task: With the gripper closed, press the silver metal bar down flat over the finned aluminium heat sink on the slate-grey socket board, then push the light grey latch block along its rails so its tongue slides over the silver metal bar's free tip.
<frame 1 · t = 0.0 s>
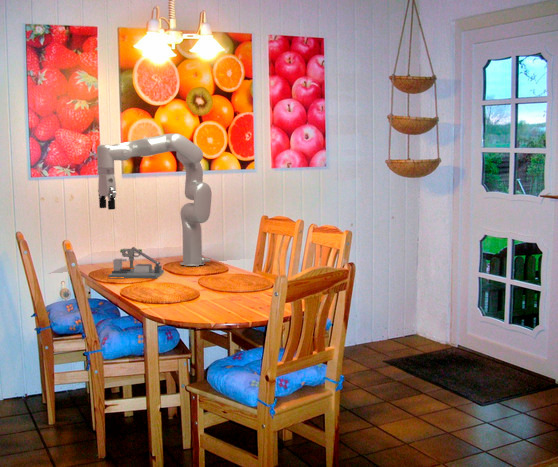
hand: (107, 208, 320), 31 cm above the table, tool pointing down, fingers open, 9 cm apart
silver metal bar: (145, 256, 321), point 9 cm above the table, hinge at 32.0°
heatsink: (143, 275, 322), resting on socket board
socket board: (136, 275, 323), on the table
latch: (120, 265, 322), point 5 cm above the table, slide at 3.0 cm
mechanical component: (131, 269, 340), on the table
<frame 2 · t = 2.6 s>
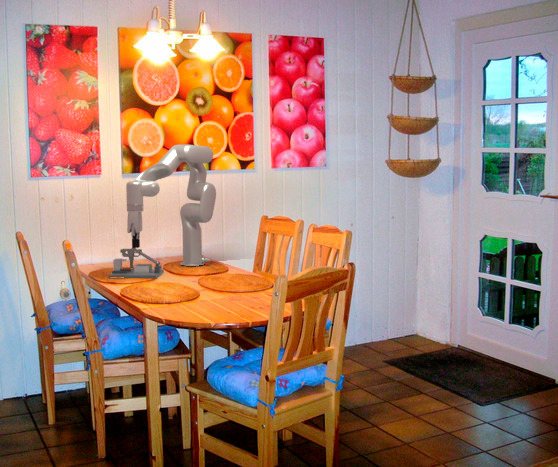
hand: (135, 247, 321), 13 cm above the table, tool pointing down, fingers closed
silver metal bar: (145, 256, 321), point 9 cm above the table, hinge at 32.0°, touching gripper
everything else where it was.
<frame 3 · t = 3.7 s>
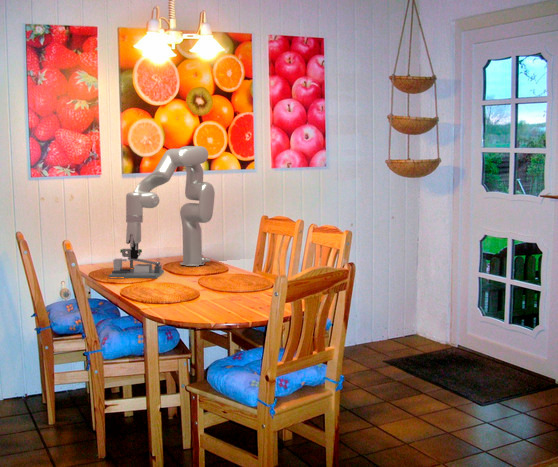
hand: (134, 258, 321), 8 cm above the table, tool pointing down, fingers closed
silver metal bar: (144, 261, 322), point 7 cm above the table, hinge at 10.3°, touching gripper
everything else where it was.
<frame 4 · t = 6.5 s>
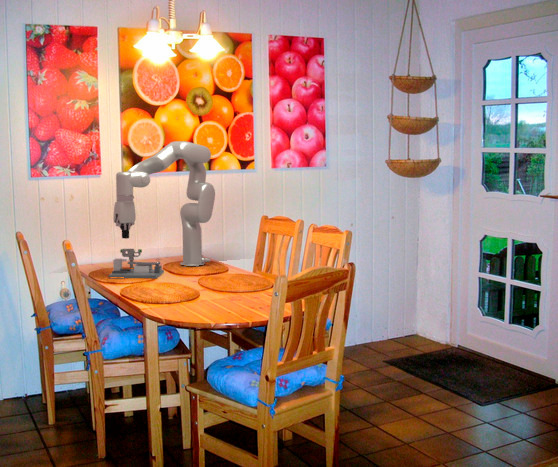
hand: (125, 238, 320), 18 cm above the table, tool pointing down, fingers closed
silver metal bar: (143, 263, 322), point 6 cm above the table, hinge at 1.3°
everything else where it was.
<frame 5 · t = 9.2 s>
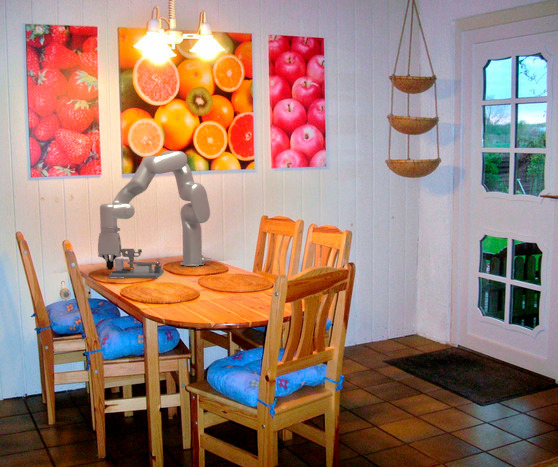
hand: (110, 269, 323), 3 cm above the table, tool pointing down, fingers closed
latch: (121, 265, 322), point 5 cm above the table, slide at 2.4 cm, touching gripper
everything else where it was.
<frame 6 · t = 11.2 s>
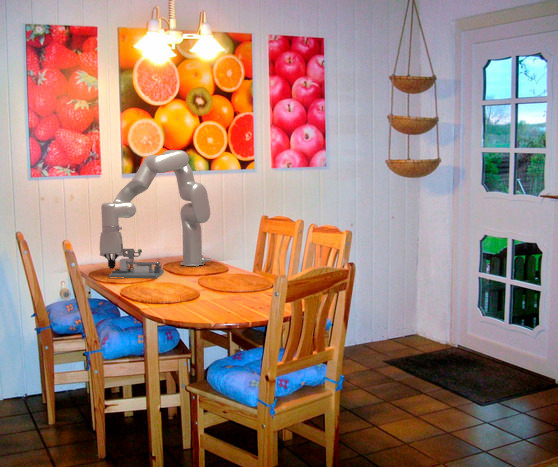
hand: (111, 268, 323), 3 cm above the table, tool pointing down, fingers closed
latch: (126, 265, 322), point 5 cm above the table, slide at 0.0 cm
everything else where it was.
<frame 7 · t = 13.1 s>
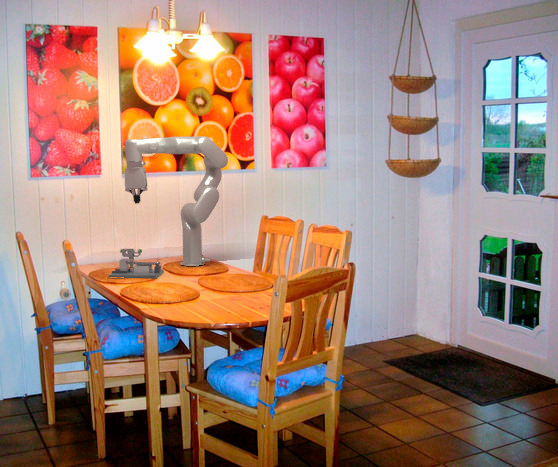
hand: (137, 203, 333), 33 cm above the table, tool pointing down, fingers closed
nothing on the table moved.
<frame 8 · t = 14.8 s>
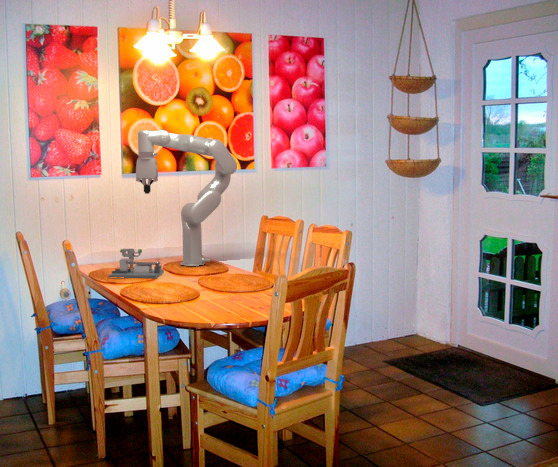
hand: (147, 193, 338), 37 cm above the table, tool pointing down, fingers closed
nothing on the table moved.
at the end: silver metal bar at +1° (first picture: +32°); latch slide at 0.0 cm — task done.
